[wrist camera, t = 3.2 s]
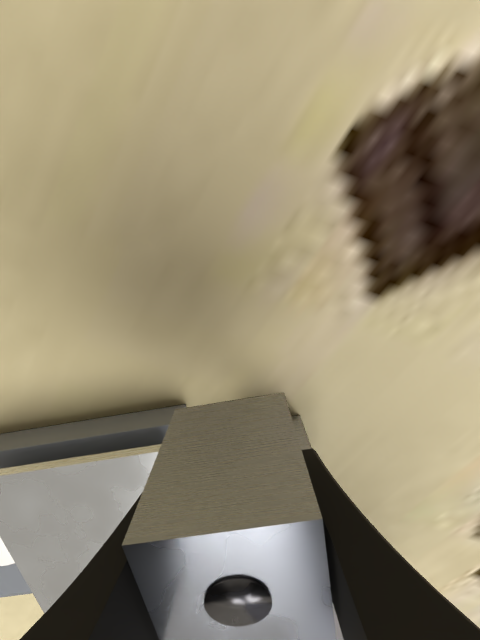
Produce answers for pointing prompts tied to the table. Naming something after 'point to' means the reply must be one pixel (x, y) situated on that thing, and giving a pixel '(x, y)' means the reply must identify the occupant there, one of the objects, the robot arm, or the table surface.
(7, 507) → the pan
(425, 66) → the table surface
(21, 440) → the scale housing
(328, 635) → the block
